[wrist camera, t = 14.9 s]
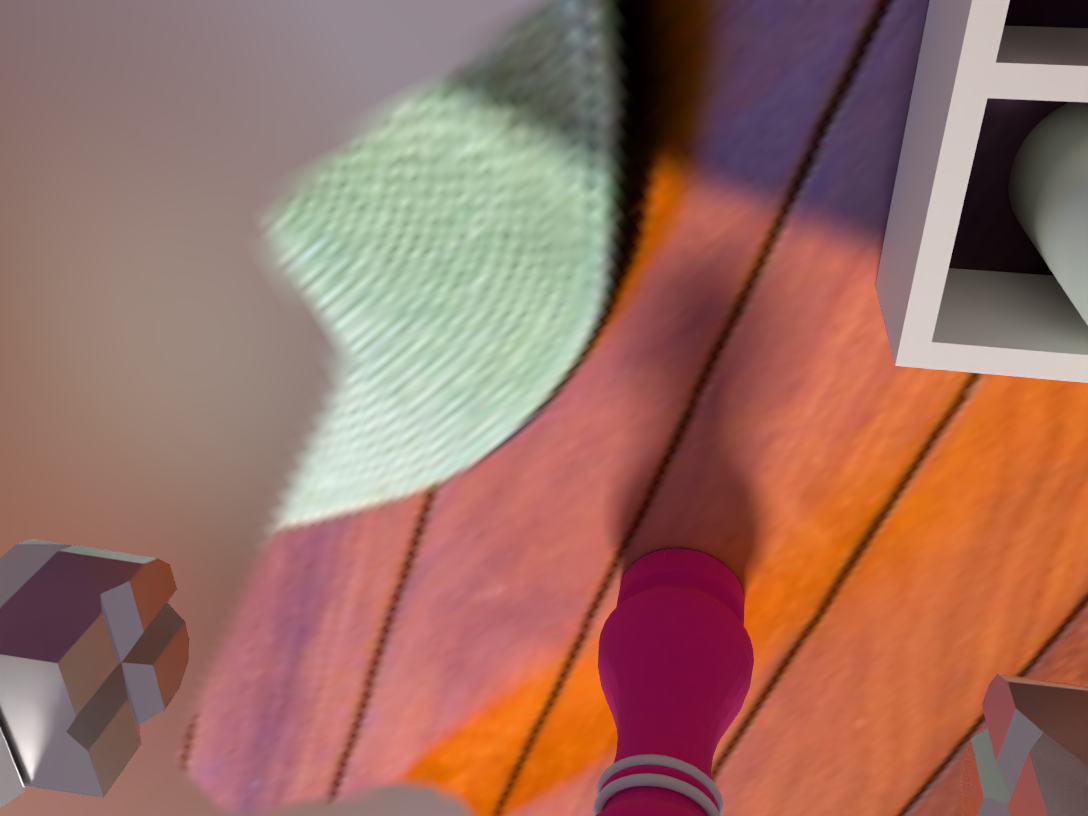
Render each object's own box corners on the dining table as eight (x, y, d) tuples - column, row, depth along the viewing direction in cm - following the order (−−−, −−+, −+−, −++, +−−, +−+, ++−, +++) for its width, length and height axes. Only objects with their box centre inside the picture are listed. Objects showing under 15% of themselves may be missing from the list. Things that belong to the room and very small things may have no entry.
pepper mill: (606, 535, 48) (520, 912, 31) (754, 541, 46) (749, 942, 29) (615, 644, 52) (542, 1036, 35) (754, 653, 50) (748, 1068, 33)
